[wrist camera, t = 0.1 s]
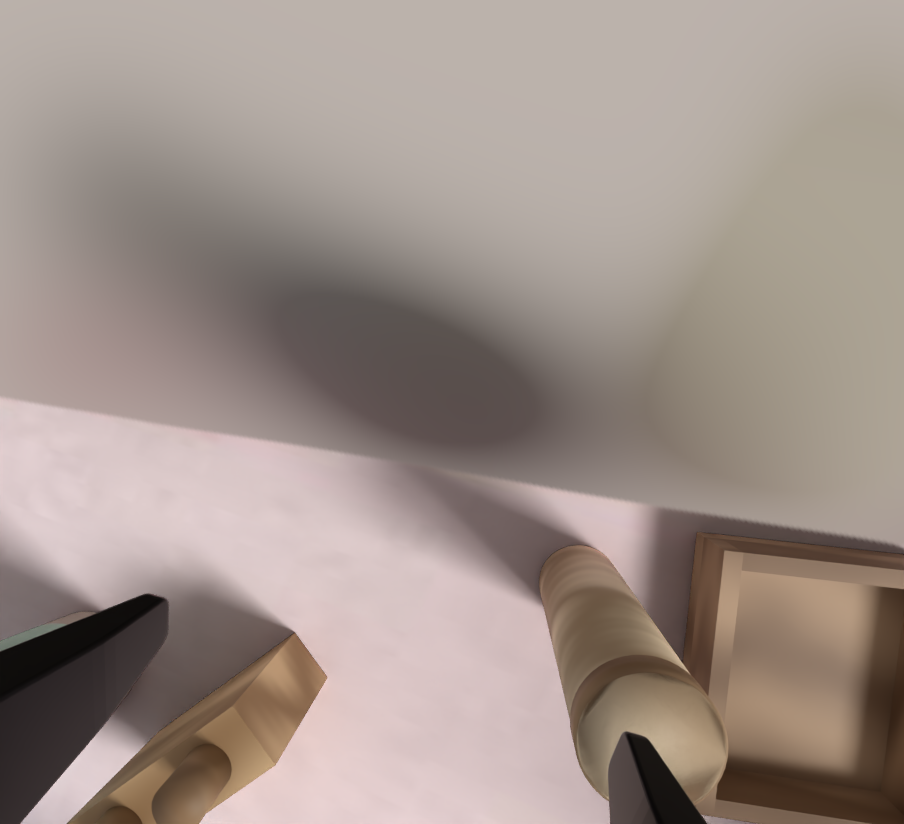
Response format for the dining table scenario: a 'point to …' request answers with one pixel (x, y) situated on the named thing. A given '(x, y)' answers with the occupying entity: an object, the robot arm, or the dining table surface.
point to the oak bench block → (213, 744)
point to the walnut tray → (801, 678)
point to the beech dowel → (625, 676)
